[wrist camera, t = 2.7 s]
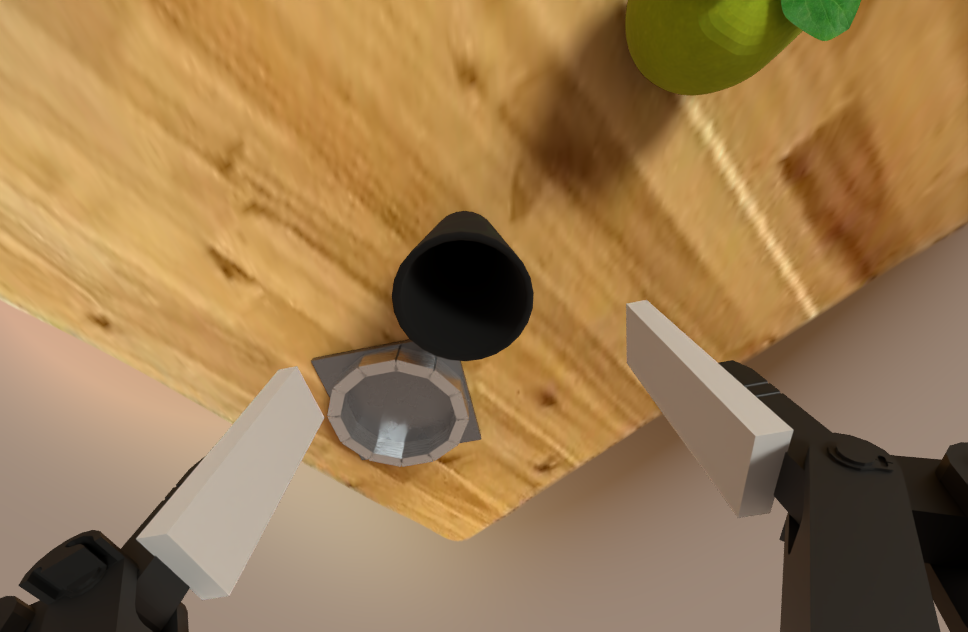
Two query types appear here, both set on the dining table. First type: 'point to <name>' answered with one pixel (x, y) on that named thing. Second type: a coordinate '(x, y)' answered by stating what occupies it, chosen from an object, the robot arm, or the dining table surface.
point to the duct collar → (397, 403)
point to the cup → (462, 290)
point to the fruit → (722, 37)
